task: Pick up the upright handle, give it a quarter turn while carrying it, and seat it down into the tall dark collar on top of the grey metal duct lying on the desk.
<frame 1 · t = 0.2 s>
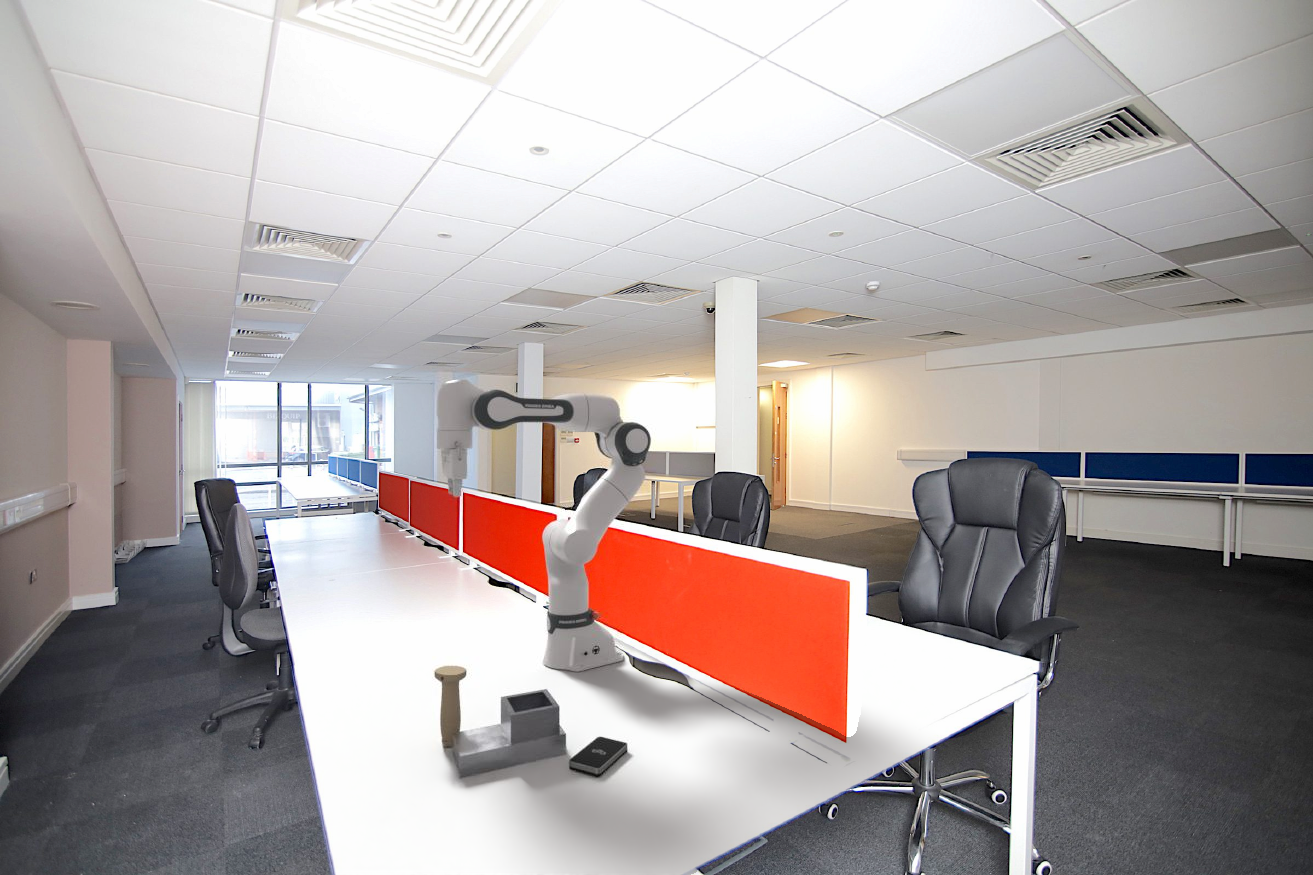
hand: (454, 495, 160), 48 cm above the table, tool pointing down, fingers open, 8 cm apart
handle: (450, 745, 125), on the table
external hard drive: (598, 763, 118), on the table
duct: (509, 753, 121), on the table
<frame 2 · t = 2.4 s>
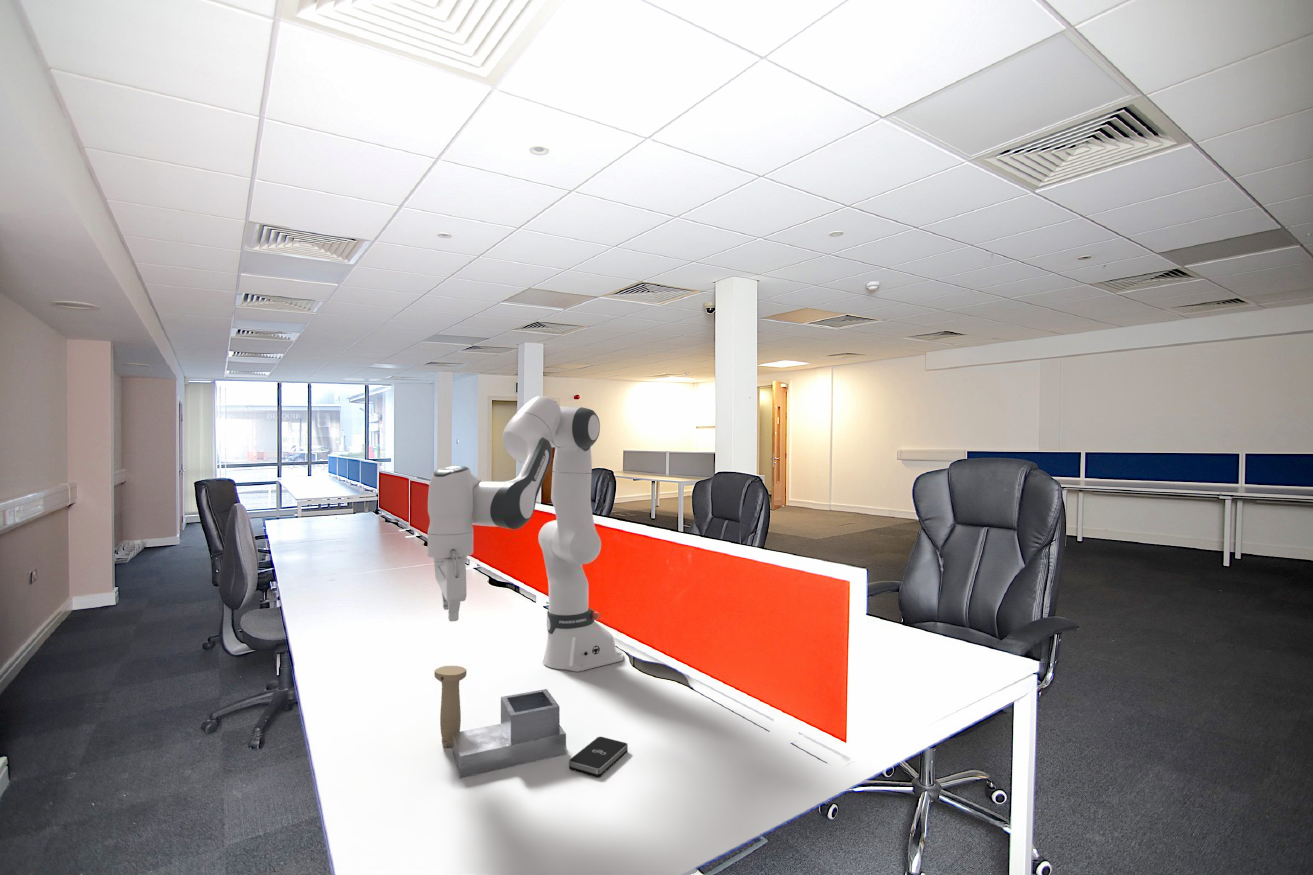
hand: (450, 614, 125), 26 cm above the table, tool pointing down, fingers open, 8 cm apart
nothing on the table moved.
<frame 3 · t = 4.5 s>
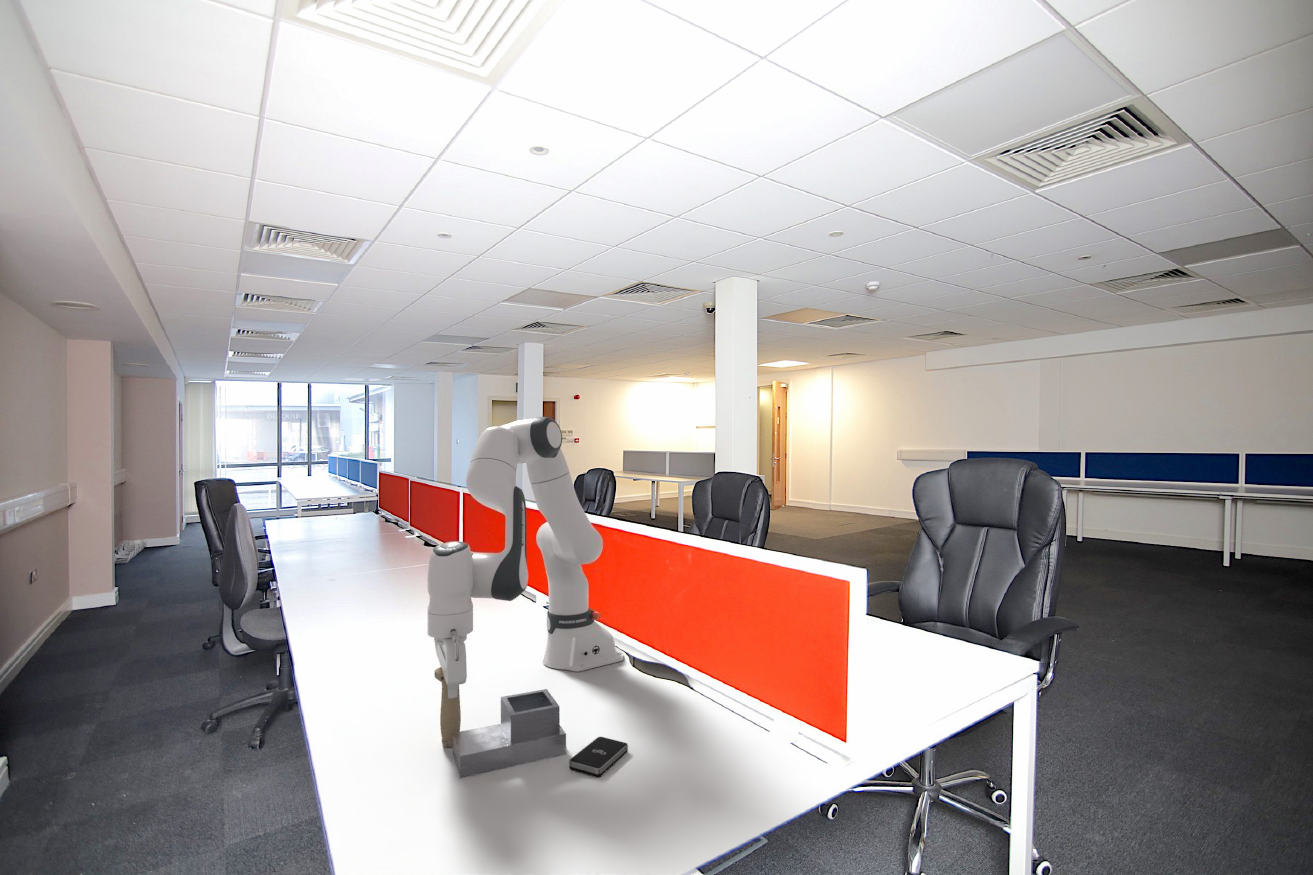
hand: (450, 691, 125), 11 cm above the table, tool pointing down, fingers closed on handle, 4 cm apart
handle: (450, 745, 125), on the table, touching gripper
everything else where it was.
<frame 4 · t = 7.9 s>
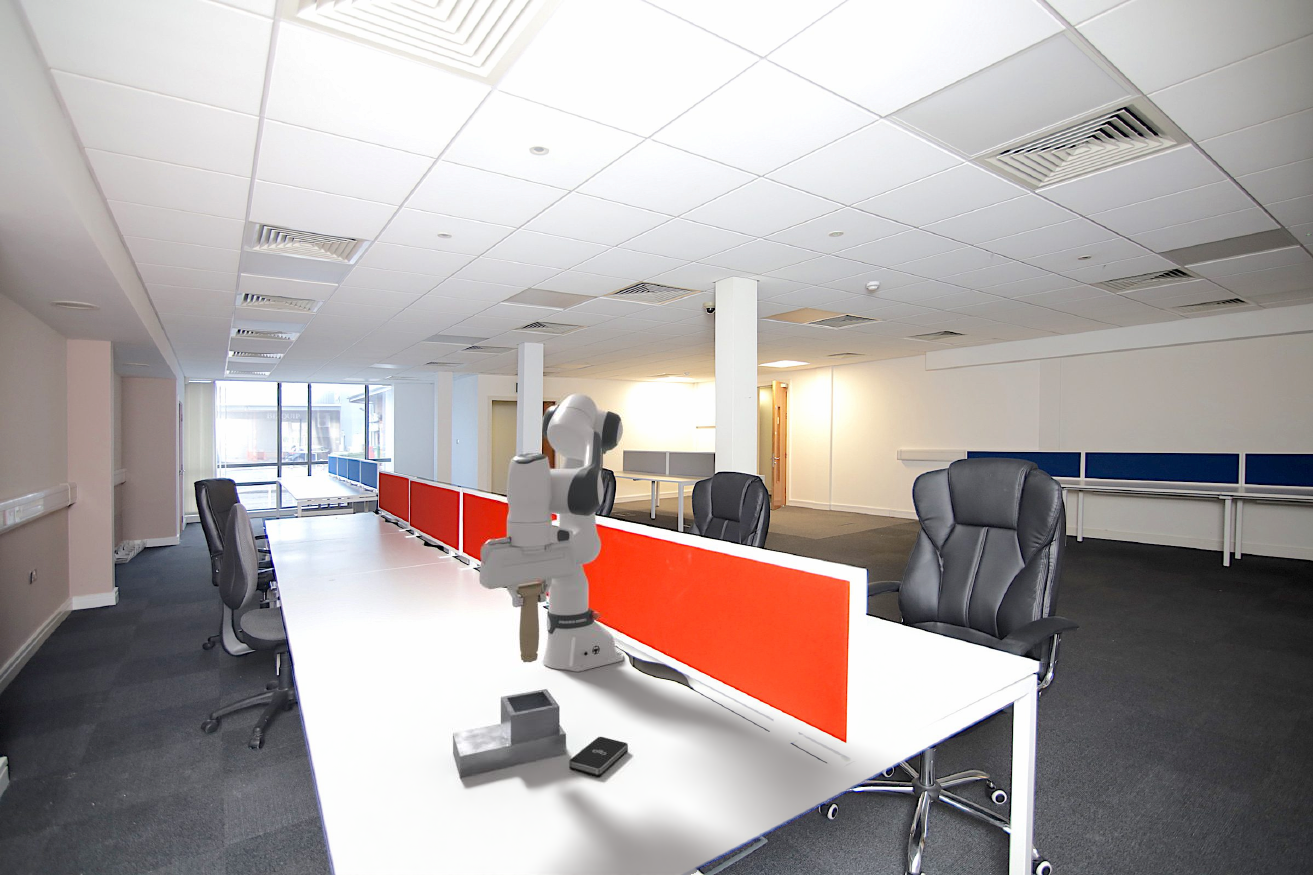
hand: (529, 603, 123), 29 cm above the table, tool pointing down, fingers closed on handle, 4 cm apart
handle: (529, 661, 123), point 17 cm above the table, touching gripper
everything else where it was.
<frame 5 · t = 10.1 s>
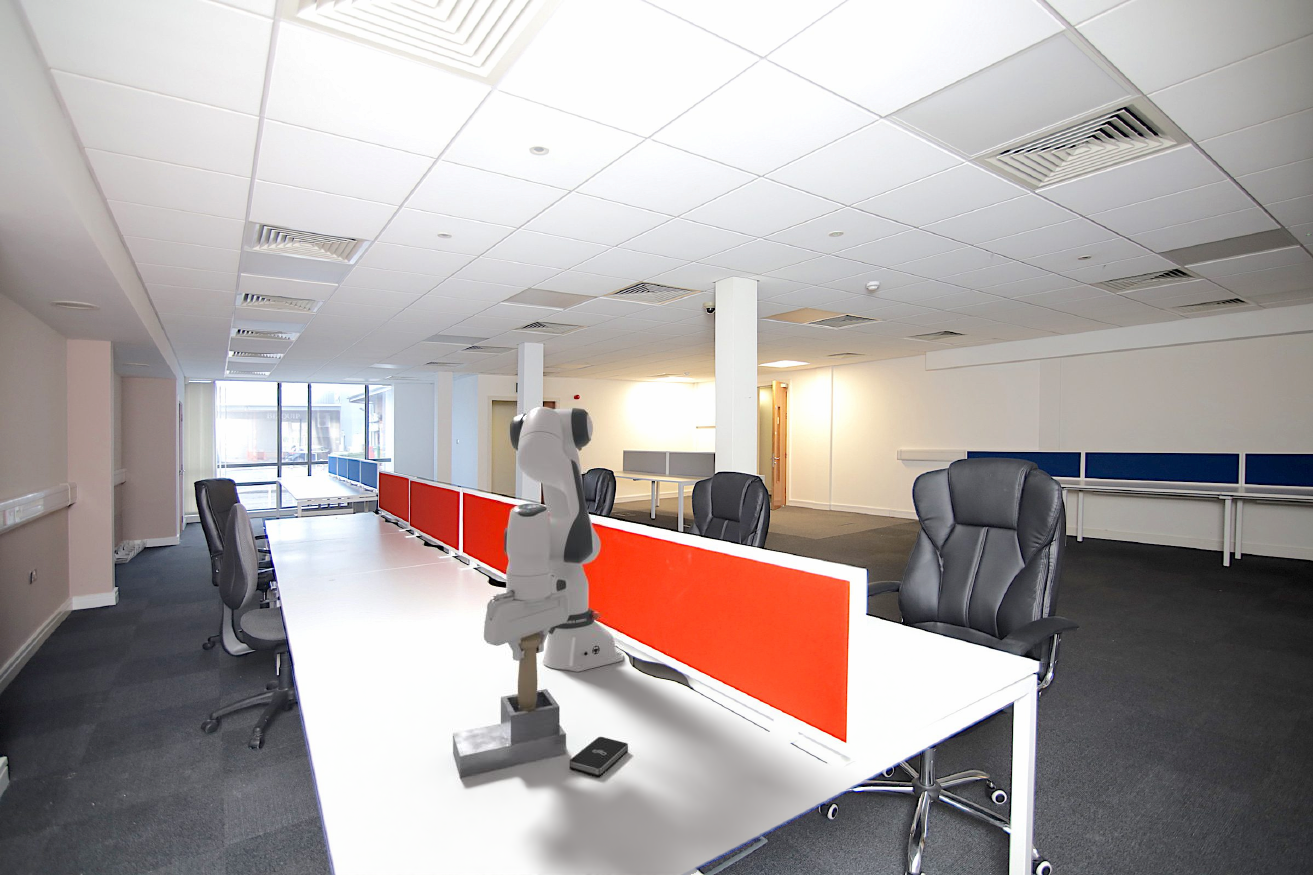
hand: (528, 655, 123), 19 cm above the table, tool pointing down, fingers closed on handle, 4 cm apart
handle: (527, 713, 123), point 7 cm above the table, touching gripper
everything else where it was.
when the fingers open (15 cm above the table, at t = 11.5 s): handle stays where it is, resting on duct.
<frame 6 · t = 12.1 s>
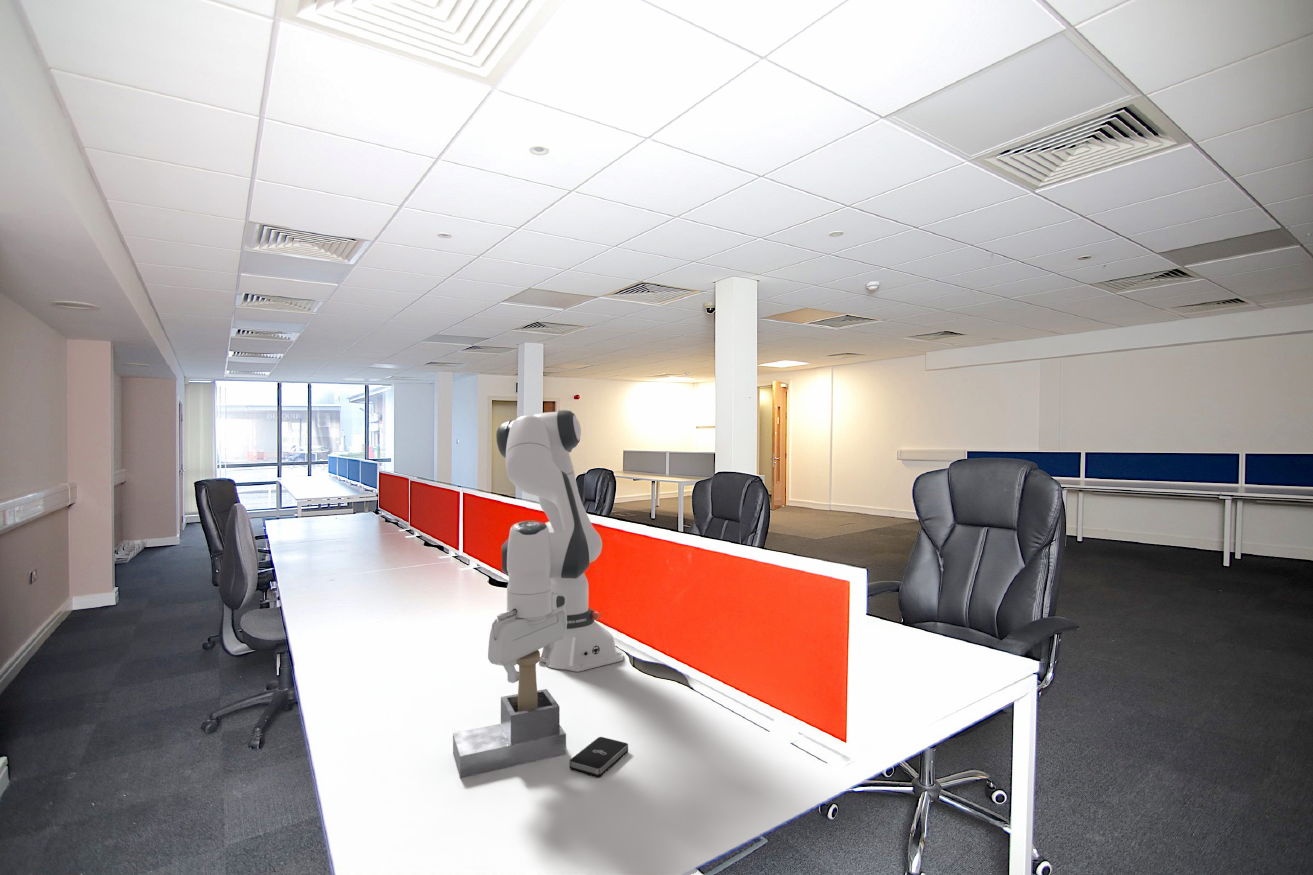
hand: (529, 673, 123), 15 cm above the table, tool pointing down, fingers open, 8 cm apart
handle: (527, 729, 123), point 4 cm above the table, touching duct
everything else where it was.
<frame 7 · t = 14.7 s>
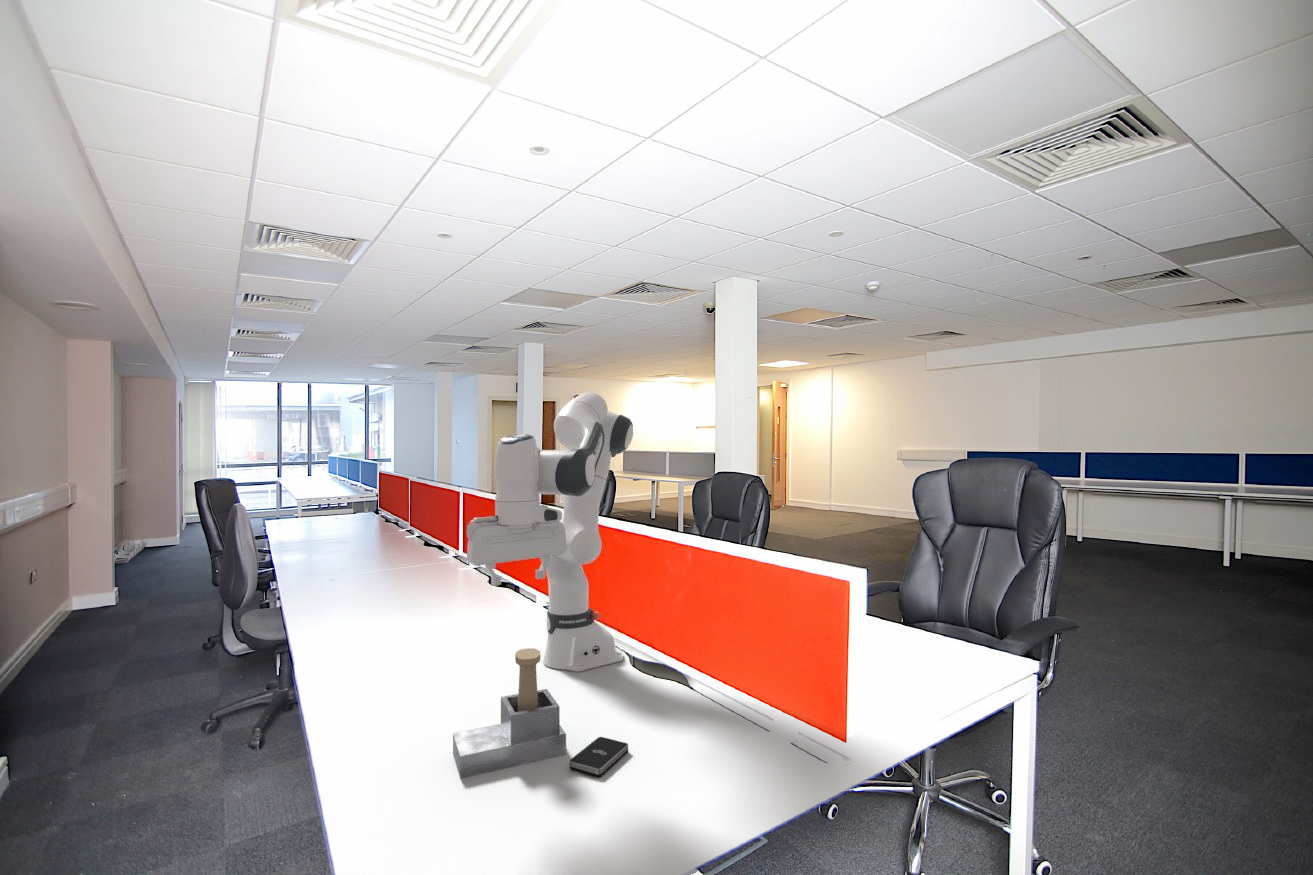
hand: (518, 581, 126), 33 cm above the table, tool pointing down, fingers open, 8 cm apart
nothing on the table moved.
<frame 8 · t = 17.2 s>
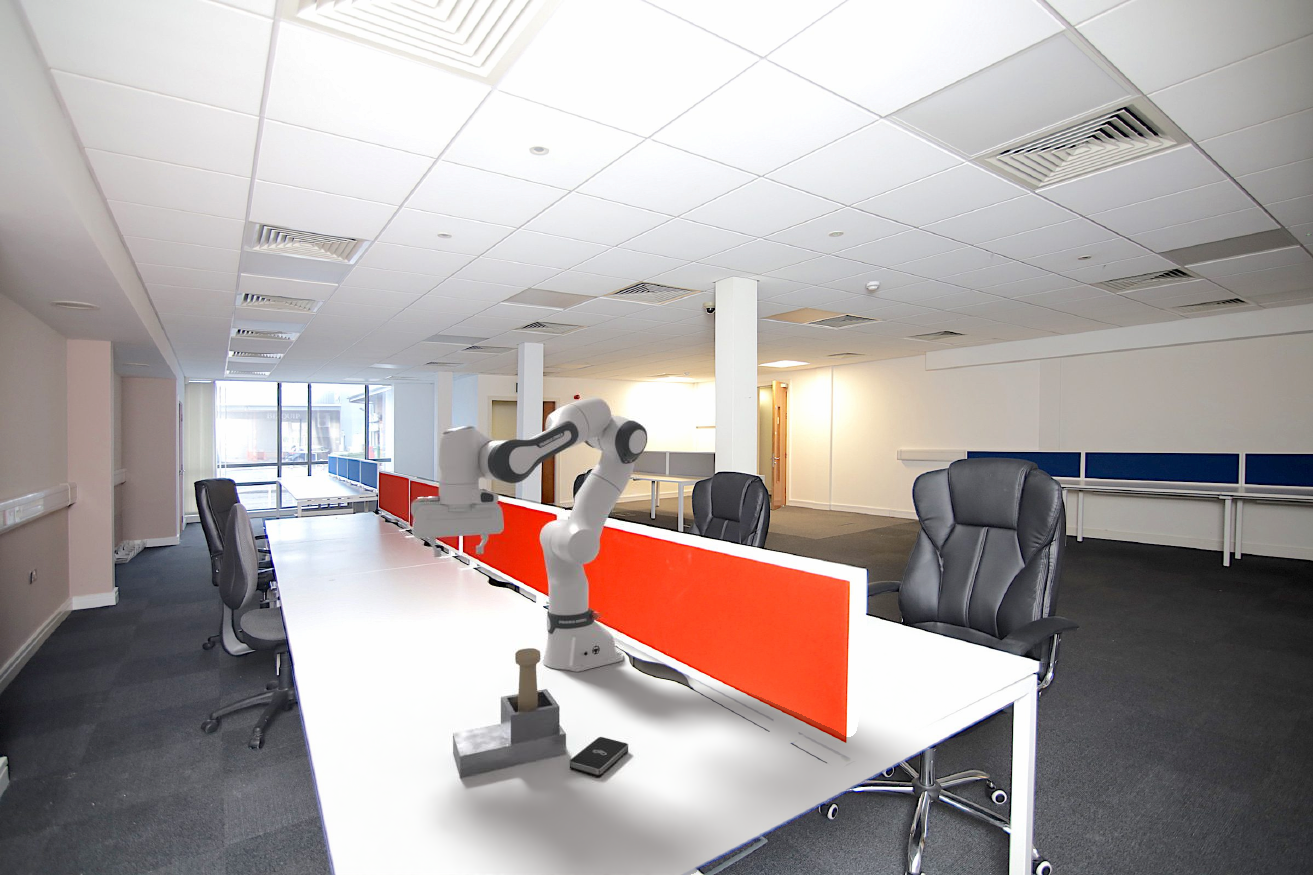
hand: (458, 555, 143), 35 cm above the table, tool pointing down, fingers open, 8 cm apart
nothing on the table moved.
at the end: handle 0.4 cm from the target spot on the duct, point 3.8 cm above the duct's base; handle tilted 0°; the gripper is holding nothing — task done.
